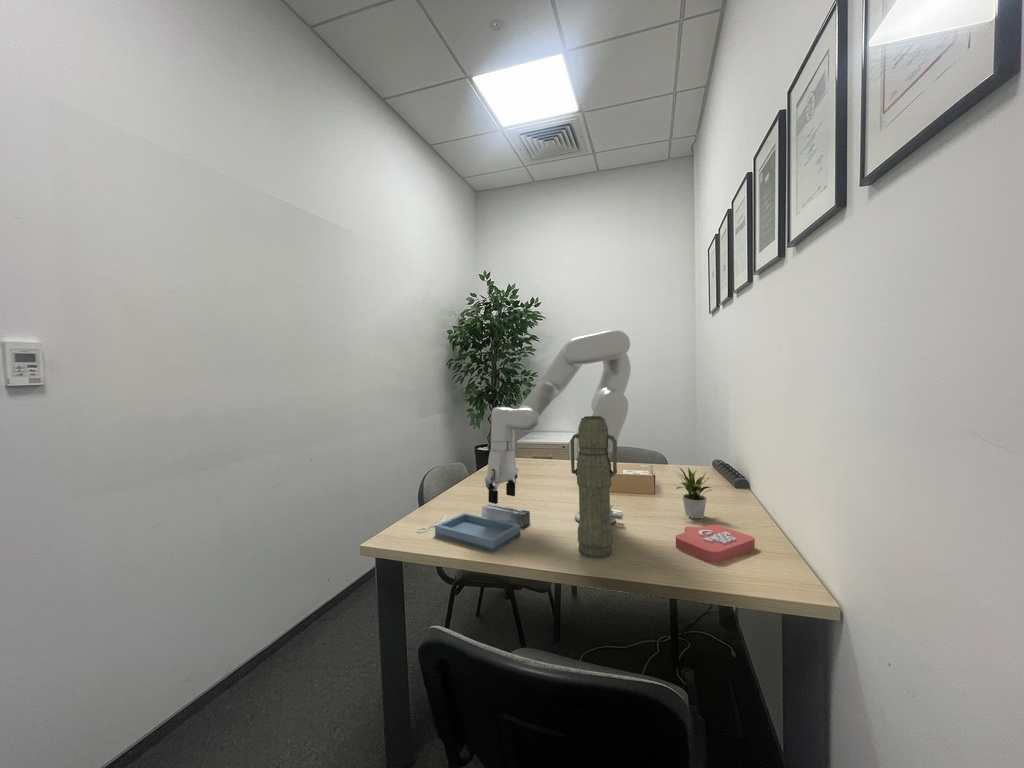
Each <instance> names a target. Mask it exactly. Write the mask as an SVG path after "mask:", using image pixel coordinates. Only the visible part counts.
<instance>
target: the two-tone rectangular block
mask: <svg viewBox="0 0 1024 768" xmlns="http://www.w3.org/2000/svg"><path fill="white" fill-rule="evenodd" d="M530 513H531V512H530V511H528V510H524V509H520V508H514V507H509V506H504V505H500V504H494V503H490V502H488V503H486V504H484V505H482V506H481V516H482V517H486V518H491V519H495V520H500V521H504V522H509V523H513V524H518V525H520V528H526V527H527V526H529V525H531V519H530V518H531V515H530Z"/></svg>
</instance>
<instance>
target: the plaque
mask: <svg viewBox="0 0 1024 768" xmlns="http://www.w3.org/2000/svg"><path fill="white" fill-rule="evenodd" d="M755 541H756V539H755V537H753V536H752V535H749V534H747V533H746V534H745V533H743V532H740V531H736V530H734V529H731V528H728V527H726V526H722V525H718V524H710V525H706V526H703V527H701V526H689V525H688V526H684V532H682V533H679V534H676V535H675V548H676V549H677V550H679V551H681V552H682V553H683V552H684V553H686V554H688V555H691V556H693V557H695V558H698V559H700V560H702V561H705V562H707V563H710V564H721V563H724V562H726V561H729V560H732V559H734V558H735V559H736V558H737V557H739V556H740V557H741V556H743V555H744V554H748V553H751V552H753V551H755V550H756V549H755V548H756V546H755V545H756V542H755Z"/></svg>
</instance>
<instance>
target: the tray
mask: <svg viewBox="0 0 1024 768" xmlns="http://www.w3.org/2000/svg"><path fill="white" fill-rule="evenodd" d="M450 518H451V517H450ZM448 519H449V518H448ZM446 520H447V519H446ZM434 525H435V524H434ZM521 535H522V534H521V527H520V525H518V524H513V523H509V522H504V521H500V520H495V519H491V518H486V517H482V515H476V514H473V513H468V512H463V513H461V514H458V515H456V516H455V517H453V518H451V519H449V520H447V521H445V522H442V523H440V524H438V525H435V526H434V536H435V537H437V538H441V539H445V540H449V541H452V542H455V543H459V544H463V545H466V546H469V547H473V548H476V549H481V550H484V551H487V552H491V553H495V552H496V551H498V550H500V549H501V548H503V547H505V546H506V545H508V544H509V543H510V542H512V541H514V540H516V539H518V538H519V537H520V536H521Z"/></svg>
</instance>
